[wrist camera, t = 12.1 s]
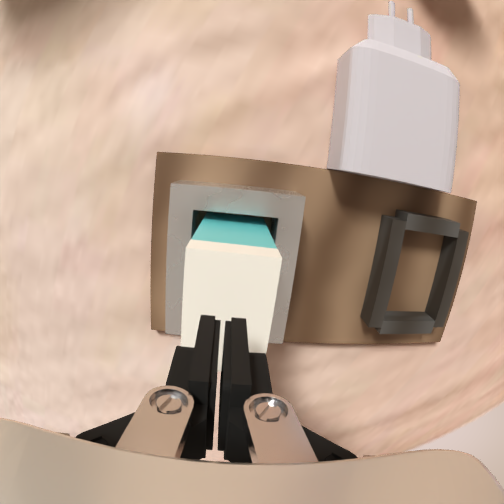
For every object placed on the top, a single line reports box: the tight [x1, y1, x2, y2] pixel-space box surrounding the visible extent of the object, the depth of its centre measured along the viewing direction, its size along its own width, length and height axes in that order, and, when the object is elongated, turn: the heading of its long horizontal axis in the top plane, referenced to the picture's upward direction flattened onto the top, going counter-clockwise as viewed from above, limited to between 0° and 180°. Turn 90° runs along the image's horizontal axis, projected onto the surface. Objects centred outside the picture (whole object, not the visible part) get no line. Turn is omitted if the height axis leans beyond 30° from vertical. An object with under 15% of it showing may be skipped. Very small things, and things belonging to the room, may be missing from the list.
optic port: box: [165, 180, 306, 344], centre depth 22 cm, size 8×10×4 cm
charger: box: [327, 1, 460, 193], centre depth 20 cm, size 5×9×15 cm
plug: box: [181, 212, 282, 372], centre depth 19 cm, size 4×6×10 cm, turn 173°
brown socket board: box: [151, 152, 477, 344], centre depth 24 cm, size 27×14×3 cm, turn 84°
